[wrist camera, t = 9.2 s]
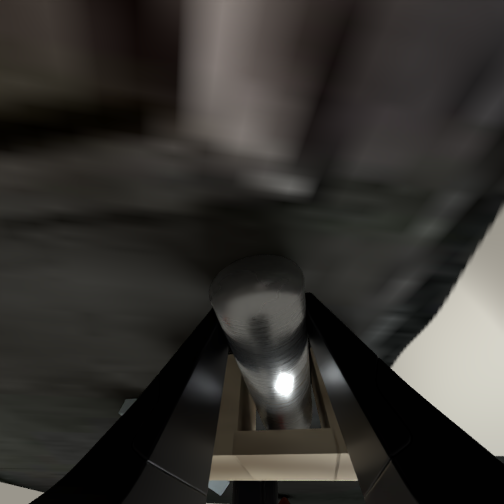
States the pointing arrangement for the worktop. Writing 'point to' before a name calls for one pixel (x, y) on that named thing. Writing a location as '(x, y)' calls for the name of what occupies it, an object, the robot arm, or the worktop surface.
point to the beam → (276, 439)
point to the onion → (284, 501)
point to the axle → (268, 335)
